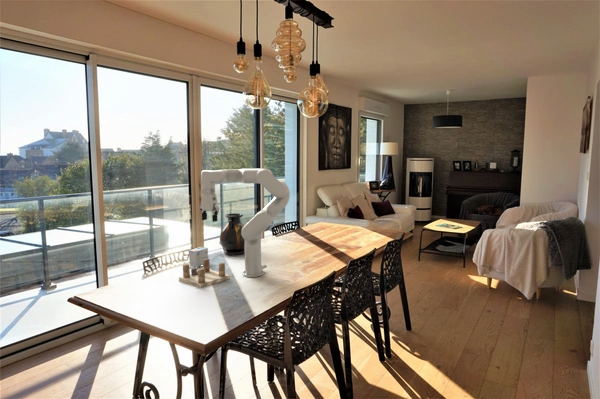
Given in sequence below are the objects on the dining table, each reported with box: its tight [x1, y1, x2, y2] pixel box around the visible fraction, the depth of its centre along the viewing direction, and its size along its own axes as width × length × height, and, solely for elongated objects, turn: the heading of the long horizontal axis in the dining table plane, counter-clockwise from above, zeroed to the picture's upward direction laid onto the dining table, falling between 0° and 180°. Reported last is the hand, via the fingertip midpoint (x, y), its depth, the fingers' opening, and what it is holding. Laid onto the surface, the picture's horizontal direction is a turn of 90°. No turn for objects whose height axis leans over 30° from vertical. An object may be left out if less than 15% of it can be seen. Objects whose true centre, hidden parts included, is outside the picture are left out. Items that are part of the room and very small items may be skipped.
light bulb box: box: [188, 246, 209, 268], centre depth 248 cm, size 11×7×11 cm, turn 149°
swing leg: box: [190, 258, 211, 275], centre depth 225 cm, size 12×4×7 cm, turn 142°
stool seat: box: [178, 262, 231, 289], centre depth 219 cm, size 20×20×9 cm
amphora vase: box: [219, 212, 245, 256], centre depth 277 cm, size 22×22×28 cm
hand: (209, 220), depth 226 cm, fingers open, 9 cm apart
